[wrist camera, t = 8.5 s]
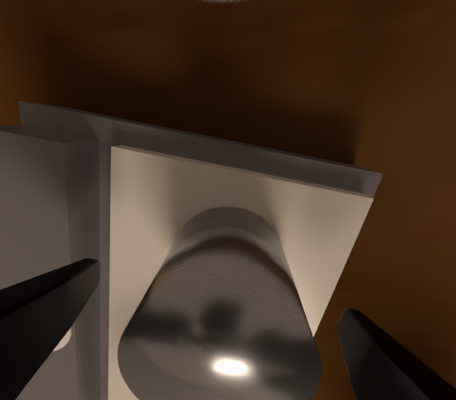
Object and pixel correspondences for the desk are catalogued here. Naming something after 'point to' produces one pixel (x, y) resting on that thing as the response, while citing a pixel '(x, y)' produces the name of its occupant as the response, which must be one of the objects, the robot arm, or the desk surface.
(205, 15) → the desk surface
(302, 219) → the scale
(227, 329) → the cylinder
